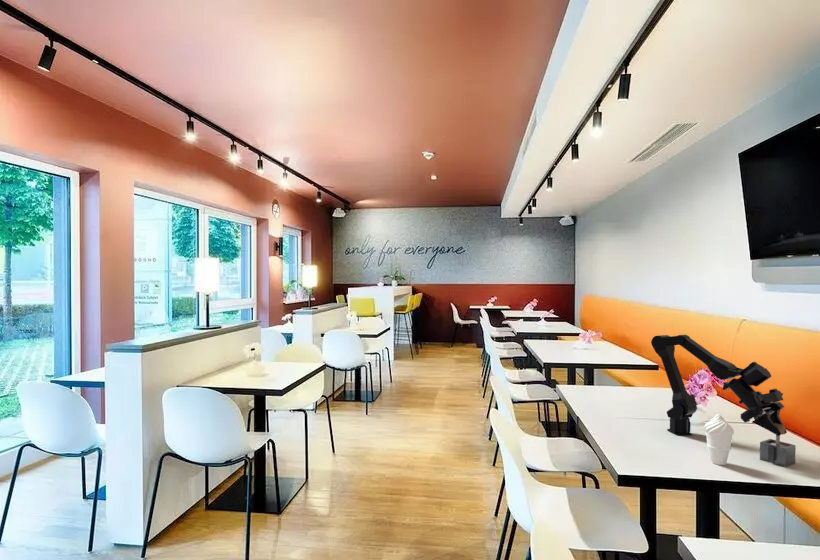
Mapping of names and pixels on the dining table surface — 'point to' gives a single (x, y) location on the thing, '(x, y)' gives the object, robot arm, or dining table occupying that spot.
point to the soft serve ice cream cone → (718, 439)
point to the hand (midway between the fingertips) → (782, 434)
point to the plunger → (782, 431)
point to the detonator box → (777, 453)
